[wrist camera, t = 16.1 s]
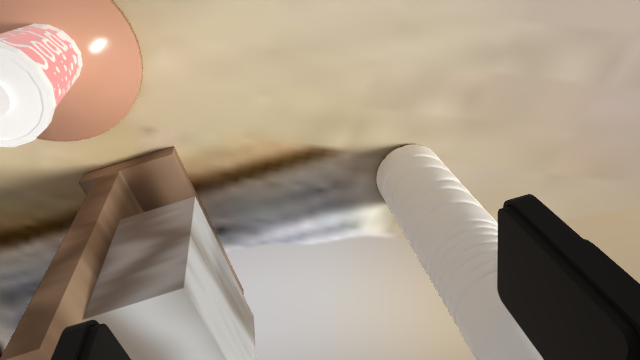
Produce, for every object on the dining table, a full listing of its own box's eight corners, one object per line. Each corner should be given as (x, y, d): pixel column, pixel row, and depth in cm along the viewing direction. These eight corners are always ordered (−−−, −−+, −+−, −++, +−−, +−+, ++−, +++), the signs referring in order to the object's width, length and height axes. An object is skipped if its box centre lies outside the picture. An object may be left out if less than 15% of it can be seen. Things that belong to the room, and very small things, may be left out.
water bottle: (362, 169, 42) (499, 415, 21) (420, 130, 41) (625, 347, 20) (404, 224, 47) (552, 475, 25) (456, 190, 46) (657, 422, 24)
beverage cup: (112, 71, 33) (45, 152, 21) (46, 111, 33) (-56, 212, 22) (49, -6, 30) (-72, 38, 18) (-23, 40, 30) (-186, 112, 18)
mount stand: (190, 141, 38) (160, 310, 21) (256, 285, 47) (271, 481, 30) (83, 174, 37) (-32, 371, 21) (171, 312, 47) (140, 524, 30)
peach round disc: (35, -86, 28) (30, -86, 27) (178, 73, 35) (177, 76, 34) (-100, 37, 30) (-107, 40, 29) (60, 166, 37) (57, 170, 36)
